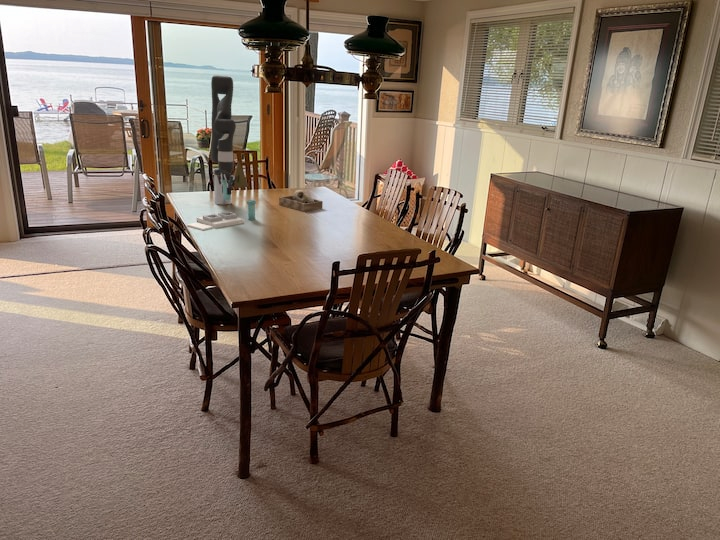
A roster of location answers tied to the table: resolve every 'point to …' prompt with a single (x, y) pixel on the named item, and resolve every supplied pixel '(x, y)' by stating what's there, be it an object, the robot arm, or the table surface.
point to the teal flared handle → (225, 191)
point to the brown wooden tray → (300, 204)
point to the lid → (199, 226)
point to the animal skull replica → (302, 196)
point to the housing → (220, 219)
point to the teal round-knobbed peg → (251, 209)
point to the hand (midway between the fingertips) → (226, 193)
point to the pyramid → (240, 177)
